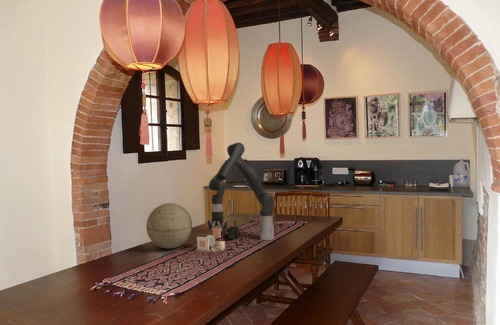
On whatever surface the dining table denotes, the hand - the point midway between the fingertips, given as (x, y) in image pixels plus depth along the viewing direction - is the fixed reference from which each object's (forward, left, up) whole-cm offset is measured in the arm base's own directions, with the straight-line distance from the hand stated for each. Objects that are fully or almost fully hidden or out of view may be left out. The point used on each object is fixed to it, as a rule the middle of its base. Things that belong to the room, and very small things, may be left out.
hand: (217, 236), depth 265 cm
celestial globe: (+33, +5, -9) cm, 35 cm away
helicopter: (+5, -39, -9) cm, 40 cm away
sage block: (+10, -10, -9) cm, 17 cm away
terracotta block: (0, 0, 0) cm, 0 cm away
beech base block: (0, 0, -9) cm, 9 cm away
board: (+8, +6, -9) cm, 13 cm away
